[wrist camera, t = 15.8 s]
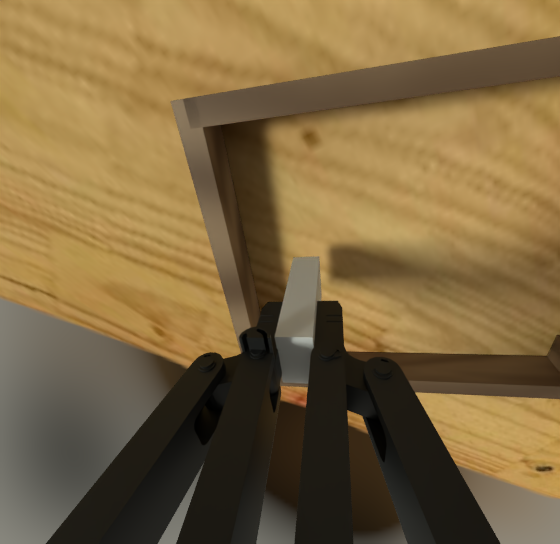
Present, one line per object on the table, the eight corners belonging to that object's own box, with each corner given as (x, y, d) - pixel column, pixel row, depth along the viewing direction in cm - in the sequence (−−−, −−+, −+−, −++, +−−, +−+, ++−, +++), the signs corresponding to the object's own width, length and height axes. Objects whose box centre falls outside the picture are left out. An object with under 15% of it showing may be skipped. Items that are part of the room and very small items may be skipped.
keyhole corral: (193, 100, 15) (170, 100, 13) (1249, -74, 8) (1560, -130, 6) (256, 359, 25) (249, 384, 23) (764, 374, 18) (821, 411, 16)
